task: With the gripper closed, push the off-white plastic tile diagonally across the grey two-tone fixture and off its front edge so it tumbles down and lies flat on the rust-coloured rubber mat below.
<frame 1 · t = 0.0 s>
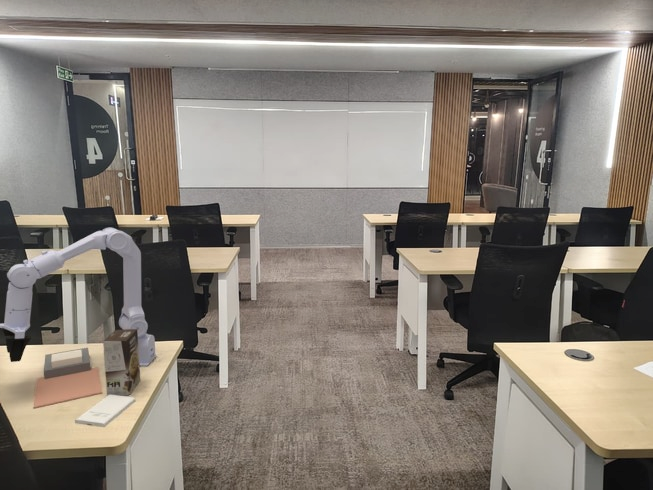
hand: (13, 356, 120), 11 cm above the table, tool pointing down, fingers open, 7 cm apart
mat: (68, 386, 125), on the table
tile: (67, 361, 134), point 3 cm above the table, touching grey two-tone fixture
external hard drive: (106, 414, 113), on the table
grey two-tone fixture: (68, 367, 137), on the table
coffee box: (124, 388, 125), on the table
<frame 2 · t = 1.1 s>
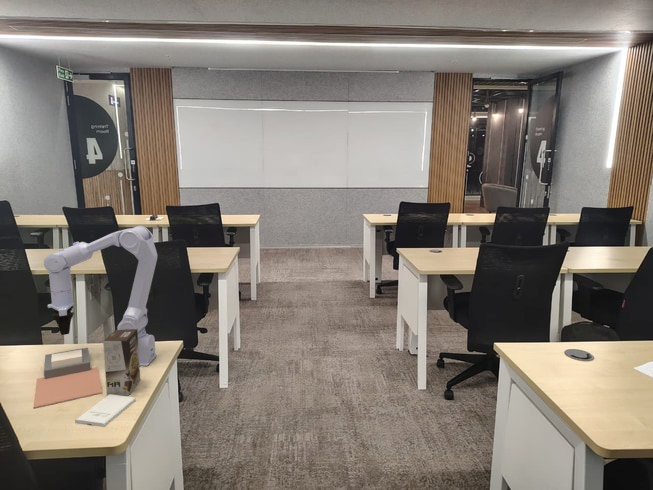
hand: (65, 330, 139), 10 cm above the table, tool pointing down, fingers open, 6 cm apart
nothing on the table moved.
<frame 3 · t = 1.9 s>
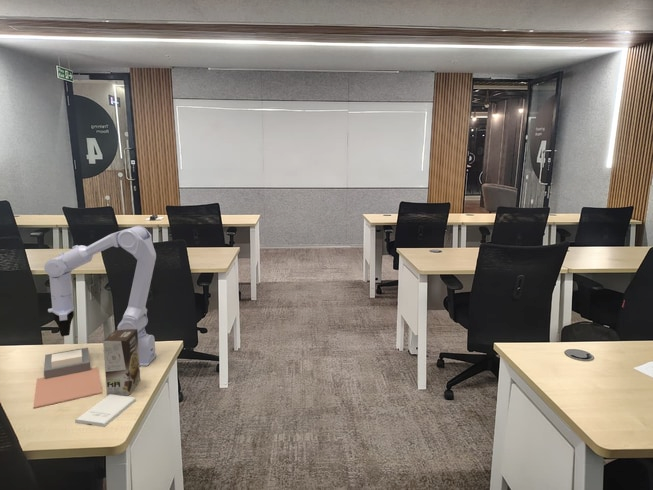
hand: (65, 335, 139), 9 cm above the table, tool pointing down, fingers closed
nothing on the table moved.
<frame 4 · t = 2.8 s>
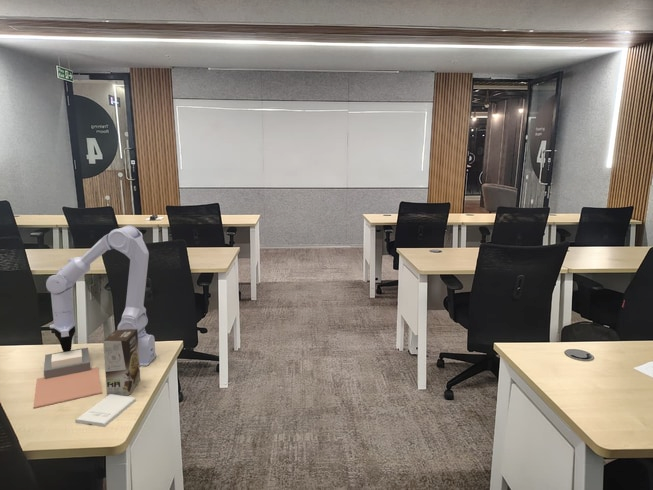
hand: (67, 350, 140), 4 cm above the table, tool pointing down, fingers closed
nothing on the table moved.
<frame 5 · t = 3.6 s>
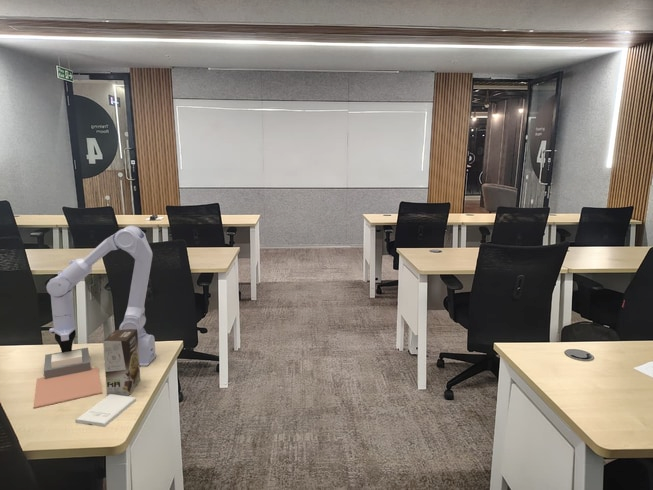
hand: (67, 354, 137), 4 cm above the table, tool pointing down, fingers closed
tile: (67, 361, 134), point 3 cm above the table, touching gripper
everything else where it was.
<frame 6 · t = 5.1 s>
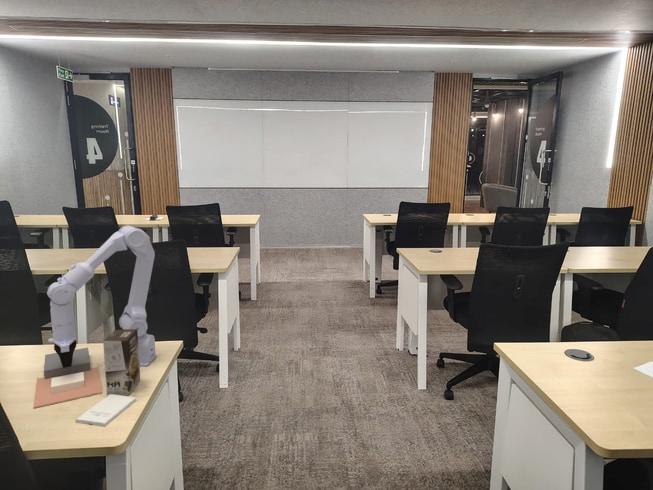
hand: (67, 366, 129), 4 cm above the table, tool pointing down, fingers closed
tile: (67, 379, 124), point 2 cm above the table, tilted 180°, touching mat
everything else where it was.
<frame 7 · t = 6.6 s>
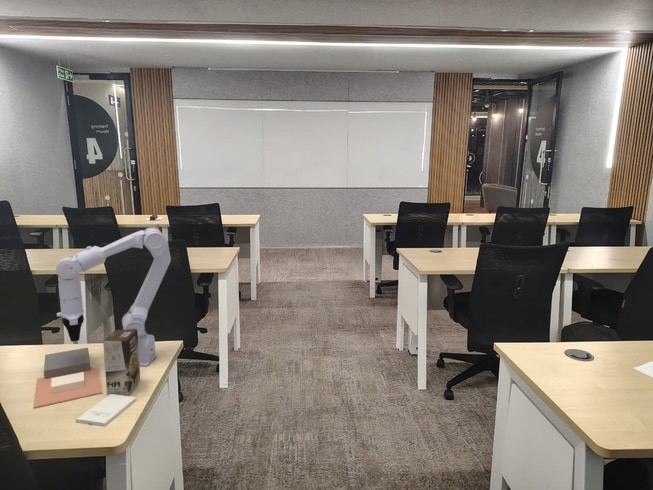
hand: (75, 340, 133), 10 cm above the table, tool pointing down, fingers closed
nothing on the table moved.
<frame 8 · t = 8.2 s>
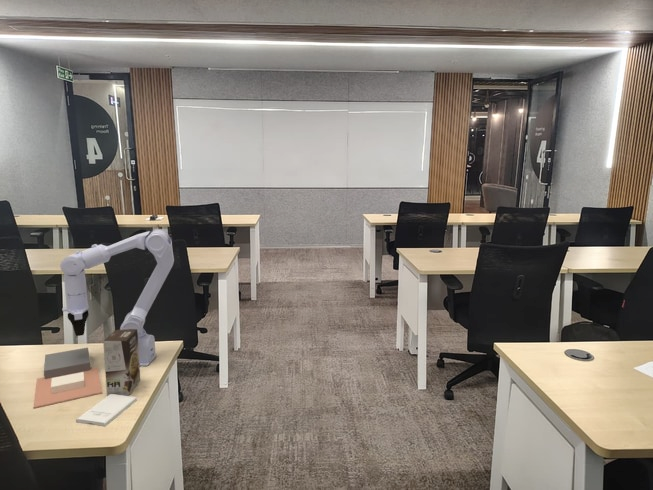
hand: (79, 334, 136), 10 cm above the table, tool pointing down, fingers closed
nothing on the table moved.
at the end: tile point 2.4 cm above the table; tile 0.4 cm from the mat (horizontally); tile touching mat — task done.
